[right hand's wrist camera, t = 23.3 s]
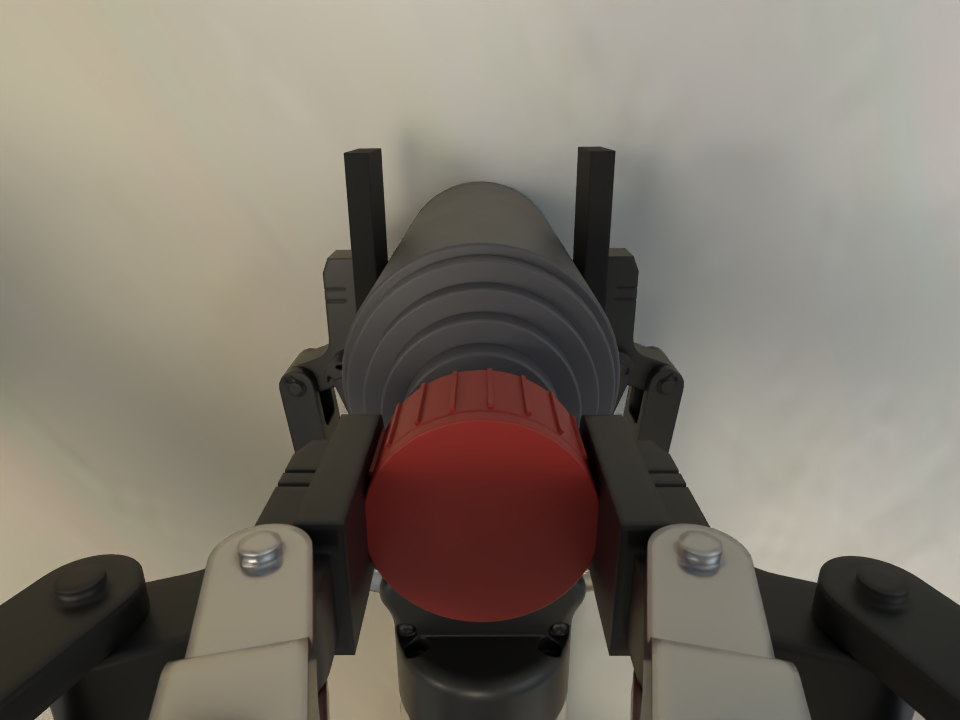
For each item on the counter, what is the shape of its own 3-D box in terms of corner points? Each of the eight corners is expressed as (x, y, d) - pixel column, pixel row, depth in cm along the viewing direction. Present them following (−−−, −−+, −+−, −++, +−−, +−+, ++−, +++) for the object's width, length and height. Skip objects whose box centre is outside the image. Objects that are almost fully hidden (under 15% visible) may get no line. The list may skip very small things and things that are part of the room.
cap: (612, 509, 12) (637, 580, 11) (430, 572, 13) (421, 652, 11) (541, 333, 11) (553, 379, 9) (341, 412, 12) (314, 470, 10)
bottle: (394, 189, 28) (234, 331, 10) (551, 174, 28) (691, 290, 9) (414, 338, 30) (317, 674, 12) (560, 325, 30) (682, 648, 12)
